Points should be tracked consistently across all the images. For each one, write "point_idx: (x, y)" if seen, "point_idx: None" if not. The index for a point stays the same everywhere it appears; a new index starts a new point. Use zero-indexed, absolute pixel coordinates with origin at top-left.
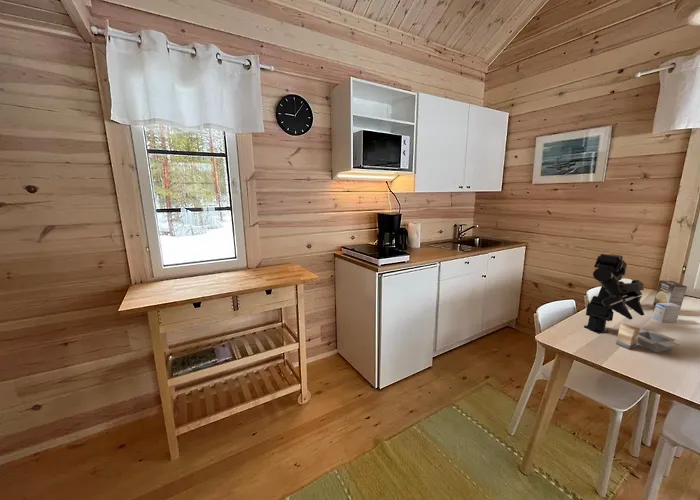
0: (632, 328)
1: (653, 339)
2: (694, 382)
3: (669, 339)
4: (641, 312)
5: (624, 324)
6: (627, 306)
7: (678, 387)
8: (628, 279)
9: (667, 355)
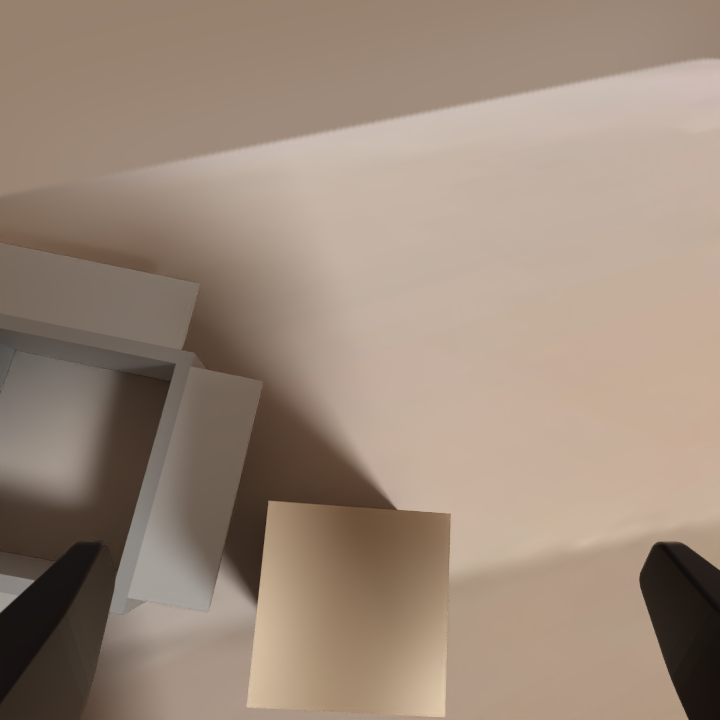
0: (430, 542)
1: None
2: (498, 98)
3: None
4: (87, 608)
5: (372, 686)
6: None
7: (672, 126)
8: None
9: None
